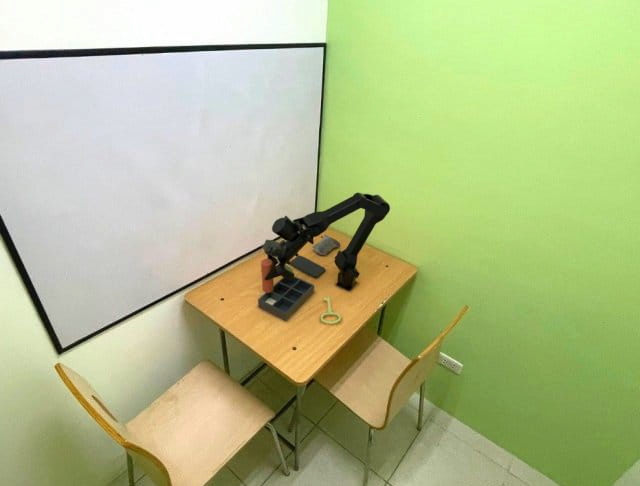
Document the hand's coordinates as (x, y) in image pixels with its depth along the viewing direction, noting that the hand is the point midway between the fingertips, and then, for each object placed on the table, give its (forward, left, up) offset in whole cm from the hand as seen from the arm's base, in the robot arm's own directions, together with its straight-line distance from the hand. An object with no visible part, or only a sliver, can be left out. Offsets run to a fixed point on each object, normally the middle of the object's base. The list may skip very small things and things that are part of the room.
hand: (263, 275), depth 132 cm
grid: (-6, -6, -13) cm, 15 cm away
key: (-23, -9, -13) cm, 28 cm away
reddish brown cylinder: (-1, -1, -7) cm, 7 cm away
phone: (-1, -27, -13) cm, 30 cm away
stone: (0, -43, -13) cm, 45 cm away
